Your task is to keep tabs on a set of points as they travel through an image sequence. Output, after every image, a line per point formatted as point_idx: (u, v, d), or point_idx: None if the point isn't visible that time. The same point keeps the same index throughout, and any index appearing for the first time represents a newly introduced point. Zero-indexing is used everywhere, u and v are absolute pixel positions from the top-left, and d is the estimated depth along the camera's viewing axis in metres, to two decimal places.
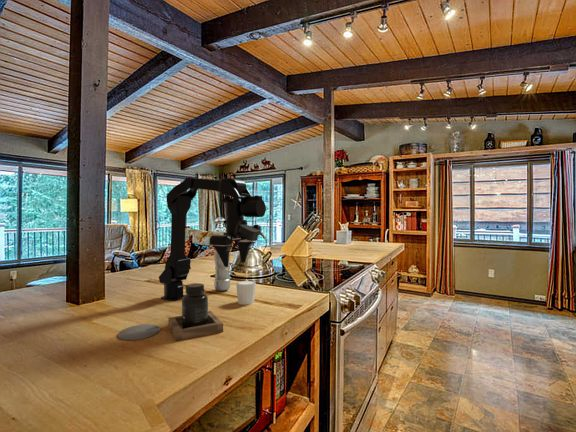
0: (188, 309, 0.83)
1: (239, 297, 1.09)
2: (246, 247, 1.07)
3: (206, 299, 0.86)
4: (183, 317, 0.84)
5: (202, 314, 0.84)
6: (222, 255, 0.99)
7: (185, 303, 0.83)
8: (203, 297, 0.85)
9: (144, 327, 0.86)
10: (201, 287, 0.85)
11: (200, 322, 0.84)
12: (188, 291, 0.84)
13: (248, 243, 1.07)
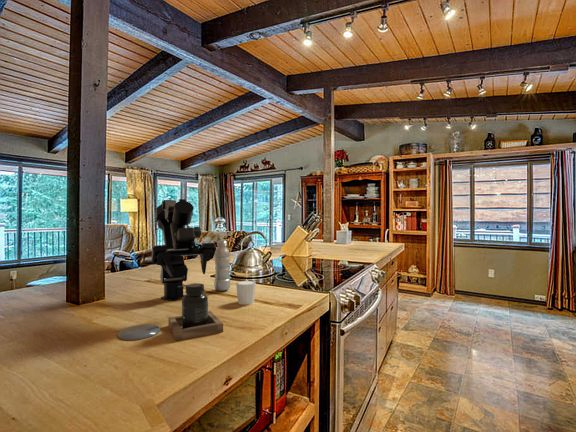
0: (188, 309, 0.83)
1: (239, 297, 1.09)
2: (202, 257, 0.98)
3: (206, 299, 0.86)
4: (183, 317, 0.84)
5: (202, 314, 0.84)
6: (166, 267, 0.93)
7: (185, 303, 0.83)
8: (203, 297, 0.85)
9: (144, 327, 0.86)
10: (201, 287, 0.85)
11: (200, 322, 0.84)
12: (188, 291, 0.84)
13: (203, 252, 0.99)
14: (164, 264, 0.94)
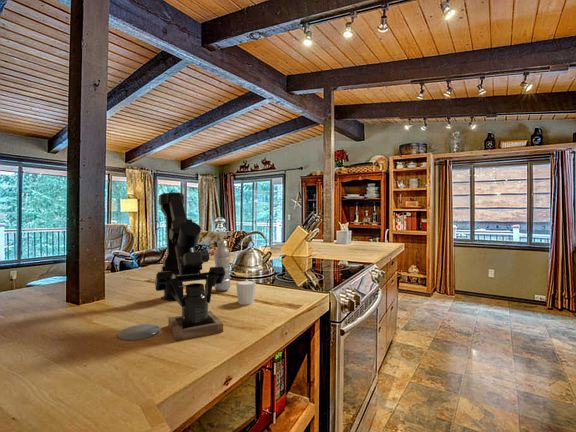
0: (188, 309, 0.83)
1: (239, 297, 1.09)
2: (207, 284, 0.90)
3: (206, 299, 0.86)
4: (183, 317, 0.84)
5: (202, 314, 0.84)
6: (175, 295, 0.86)
7: (185, 303, 0.83)
8: (203, 297, 0.85)
9: (144, 327, 0.86)
10: (201, 287, 0.85)
11: (200, 322, 0.84)
12: (188, 291, 0.84)
13: (207, 278, 0.90)
14: (173, 291, 0.87)
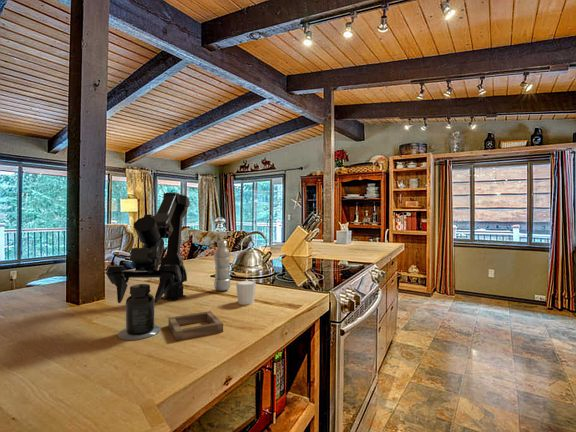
0: (127, 310, 0.81)
1: (239, 297, 1.09)
2: None
3: (147, 301, 0.82)
4: None
5: (141, 317, 0.81)
6: None
7: (126, 303, 0.82)
8: (142, 299, 0.81)
9: None
10: (142, 288, 0.82)
11: (138, 325, 0.81)
12: (130, 291, 0.82)
13: None
14: None
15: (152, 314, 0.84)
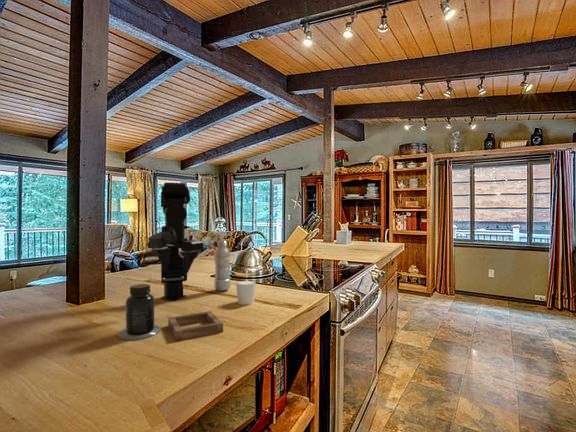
0: (127, 310, 0.81)
1: (239, 297, 1.09)
2: None
3: (147, 302, 0.82)
4: None
5: (141, 317, 0.81)
6: None
7: (126, 303, 0.82)
8: (142, 300, 0.81)
9: None
10: (142, 289, 0.82)
11: (138, 325, 0.81)
12: (130, 291, 0.82)
13: None
14: None
15: (152, 314, 0.84)
